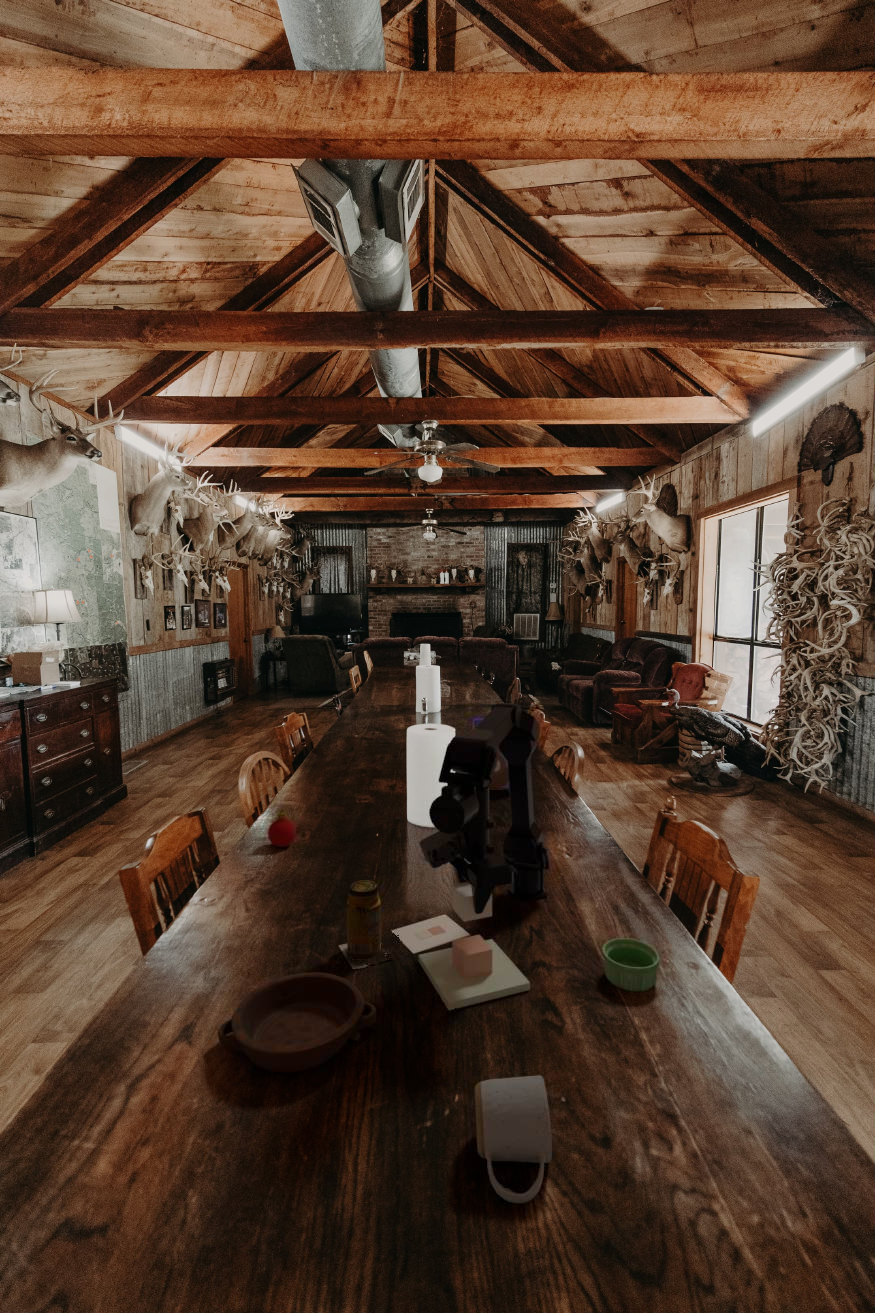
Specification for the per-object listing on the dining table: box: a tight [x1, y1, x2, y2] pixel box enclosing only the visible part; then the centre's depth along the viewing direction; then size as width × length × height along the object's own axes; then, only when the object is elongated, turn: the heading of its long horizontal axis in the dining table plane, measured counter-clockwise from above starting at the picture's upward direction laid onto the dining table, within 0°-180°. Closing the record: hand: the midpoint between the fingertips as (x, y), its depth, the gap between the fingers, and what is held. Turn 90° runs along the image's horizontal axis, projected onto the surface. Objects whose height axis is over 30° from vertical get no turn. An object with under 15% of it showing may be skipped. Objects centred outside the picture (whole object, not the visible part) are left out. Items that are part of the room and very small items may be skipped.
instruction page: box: [391, 914, 471, 955], centre depth 115 cm, size 12×9×1 cm
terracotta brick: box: [451, 934, 492, 980], centre depth 101 cm, size 5×5×4 cm
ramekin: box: [602, 937, 660, 992], centre depth 101 cm, size 9×9×4 cm
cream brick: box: [451, 882, 493, 922], centre depth 101 cm, size 5×5×4 cm
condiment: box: [338, 879, 387, 970], centre depth 108 cm, size 7×8×12 cm
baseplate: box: [418, 938, 531, 1011], centre depth 102 cm, size 14×14×1 cm
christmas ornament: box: [267, 807, 297, 848], centre depth 159 cm, size 7×7×10 cm
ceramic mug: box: [474, 1074, 553, 1204], centre depth 67 cm, size 11×8×8 cm
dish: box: [217, 972, 377, 1073], centre depth 87 cm, size 18×22×5 cm
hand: (471, 906), depth 101 cm, fingers closed on cream brick, 5 cm apart
